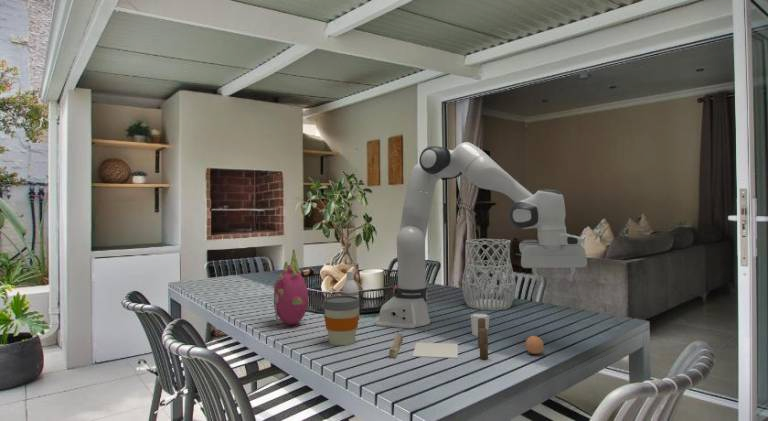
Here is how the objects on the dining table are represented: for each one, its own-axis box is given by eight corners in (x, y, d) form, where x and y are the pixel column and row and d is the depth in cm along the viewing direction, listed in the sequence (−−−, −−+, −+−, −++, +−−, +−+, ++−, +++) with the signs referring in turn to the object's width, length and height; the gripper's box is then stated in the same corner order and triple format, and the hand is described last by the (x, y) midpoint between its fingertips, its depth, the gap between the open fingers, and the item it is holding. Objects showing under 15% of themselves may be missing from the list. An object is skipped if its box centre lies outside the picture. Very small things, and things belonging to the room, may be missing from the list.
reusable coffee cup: (341, 334, 175) (341, 293, 174) (367, 340, 167) (366, 298, 166) (316, 342, 165) (315, 299, 165) (342, 349, 157) (341, 304, 157)
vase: (452, 303, 224) (451, 239, 224) (493, 297, 235) (492, 237, 234) (483, 313, 202) (482, 243, 202) (527, 307, 213) (526, 240, 212)
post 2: (479, 359, 145) (479, 330, 145) (479, 356, 148) (479, 328, 147) (488, 359, 145) (487, 330, 144) (487, 357, 147) (487, 328, 147)
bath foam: (340, 318, 199) (339, 270, 198) (355, 316, 202) (355, 269, 201) (345, 321, 192) (344, 272, 192) (361, 320, 195) (360, 271, 195)
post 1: (478, 346, 157) (478, 320, 157) (477, 344, 160) (477, 318, 160) (485, 347, 157) (485, 320, 157) (485, 344, 160) (485, 318, 159)
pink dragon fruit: (268, 321, 194) (267, 248, 194) (300, 317, 201) (299, 246, 200) (280, 332, 179) (278, 252, 178) (314, 327, 185) (313, 250, 184)
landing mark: (412, 356, 149) (412, 355, 149) (416, 343, 163) (416, 342, 163) (457, 358, 147) (457, 357, 147) (457, 344, 160) (457, 343, 160)
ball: (526, 356, 148) (526, 338, 147) (524, 350, 153) (524, 333, 153) (545, 356, 147) (544, 339, 147) (542, 351, 152) (541, 334, 152)
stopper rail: (389, 357, 148) (389, 349, 148) (397, 340, 166) (396, 333, 166) (395, 358, 148) (395, 350, 148) (402, 340, 165) (402, 333, 165)
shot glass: (478, 338, 167) (478, 318, 167) (466, 333, 174) (466, 314, 173) (493, 335, 171) (493, 316, 170) (481, 330, 177) (481, 312, 177)
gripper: (518, 240, 154) (520, 283, 154) (586, 238, 148) (588, 283, 148) (519, 238, 160) (521, 279, 160) (584, 237, 154) (586, 279, 154)
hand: (554, 281), depth 154 cm, fingers open, 8 cm apart
